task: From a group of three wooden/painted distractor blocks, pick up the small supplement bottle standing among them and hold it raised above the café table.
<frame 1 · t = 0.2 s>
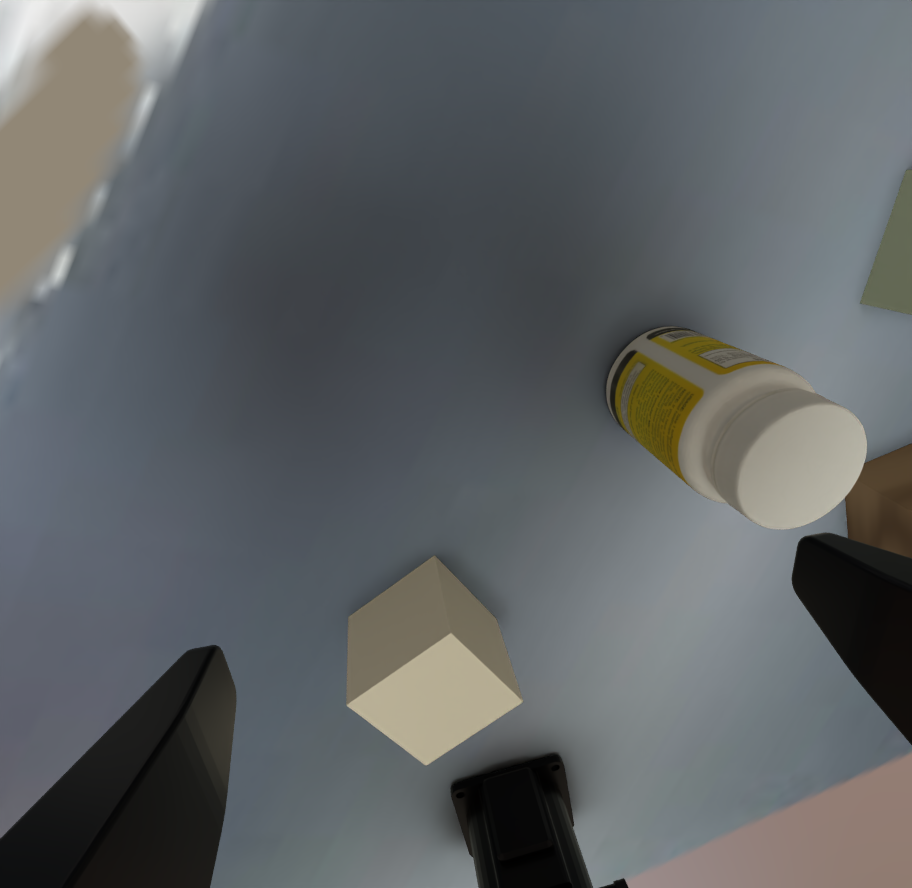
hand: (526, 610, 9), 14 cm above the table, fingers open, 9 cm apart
cream block: (424, 616, 27), on the table
walnut block: (891, 492, 28), on the table
supplement bottle: (655, 379, 23), on the table
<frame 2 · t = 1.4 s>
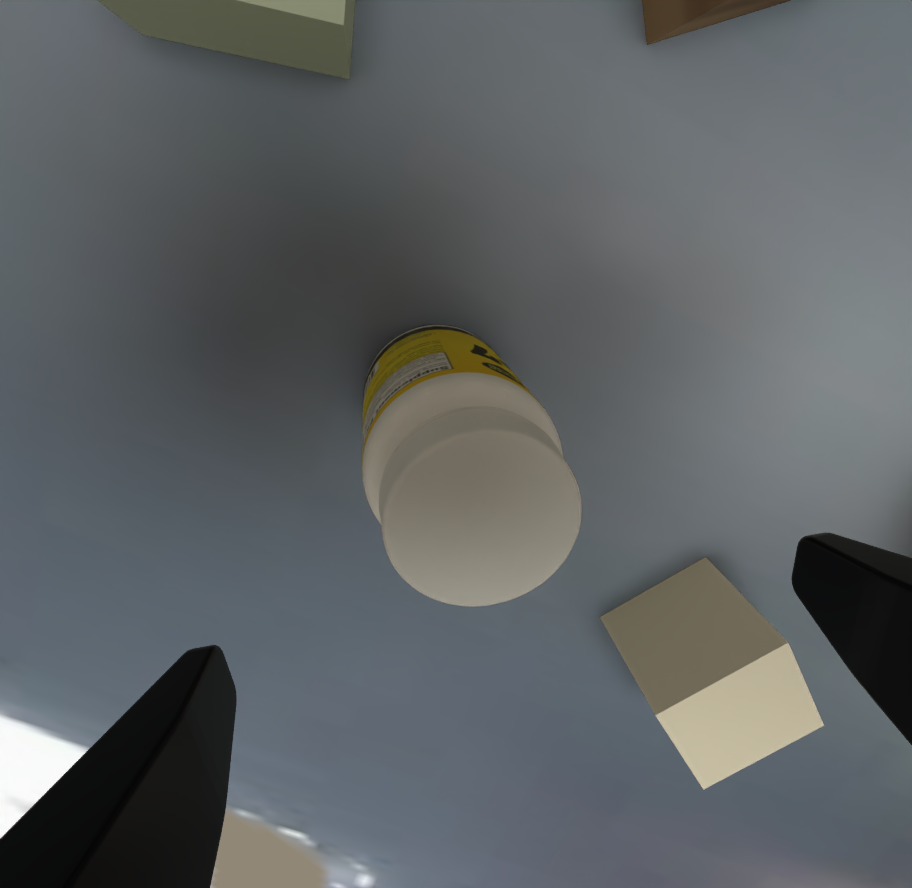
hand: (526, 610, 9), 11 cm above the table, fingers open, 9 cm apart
cream block: (672, 623, 24), on the table
supplement bottle: (434, 391, 19), on the table
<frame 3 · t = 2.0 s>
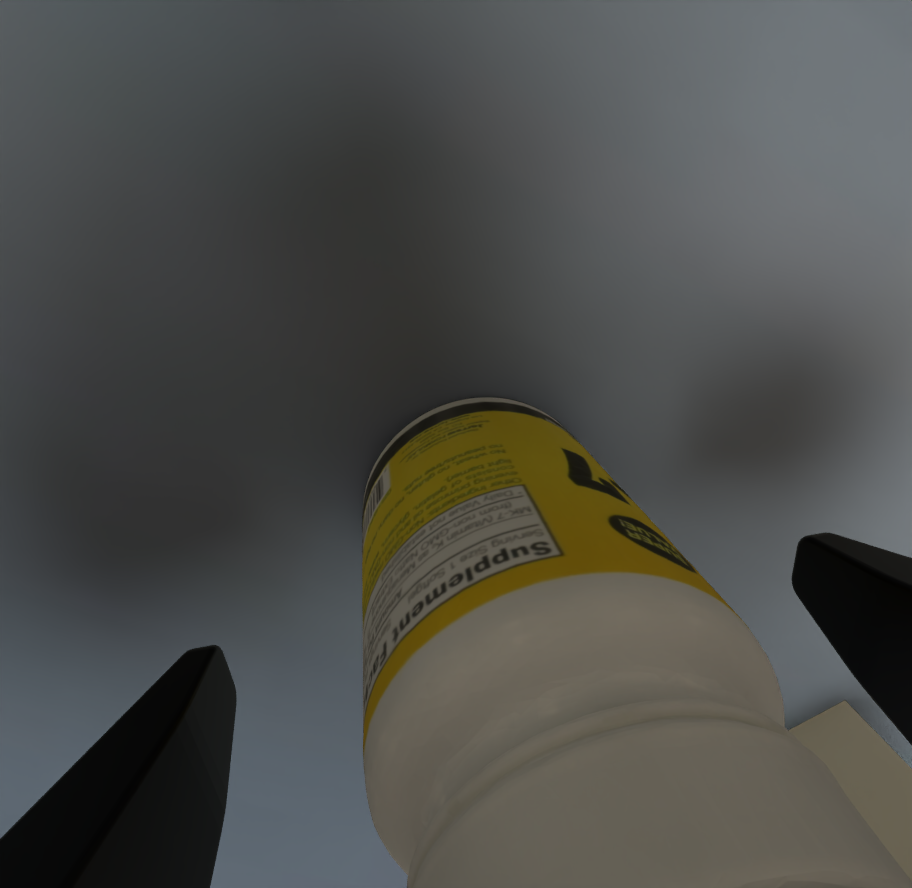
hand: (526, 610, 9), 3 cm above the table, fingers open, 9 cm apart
cream block: (787, 781, 18), on the table
supplement bottle: (475, 494, 12), on the table
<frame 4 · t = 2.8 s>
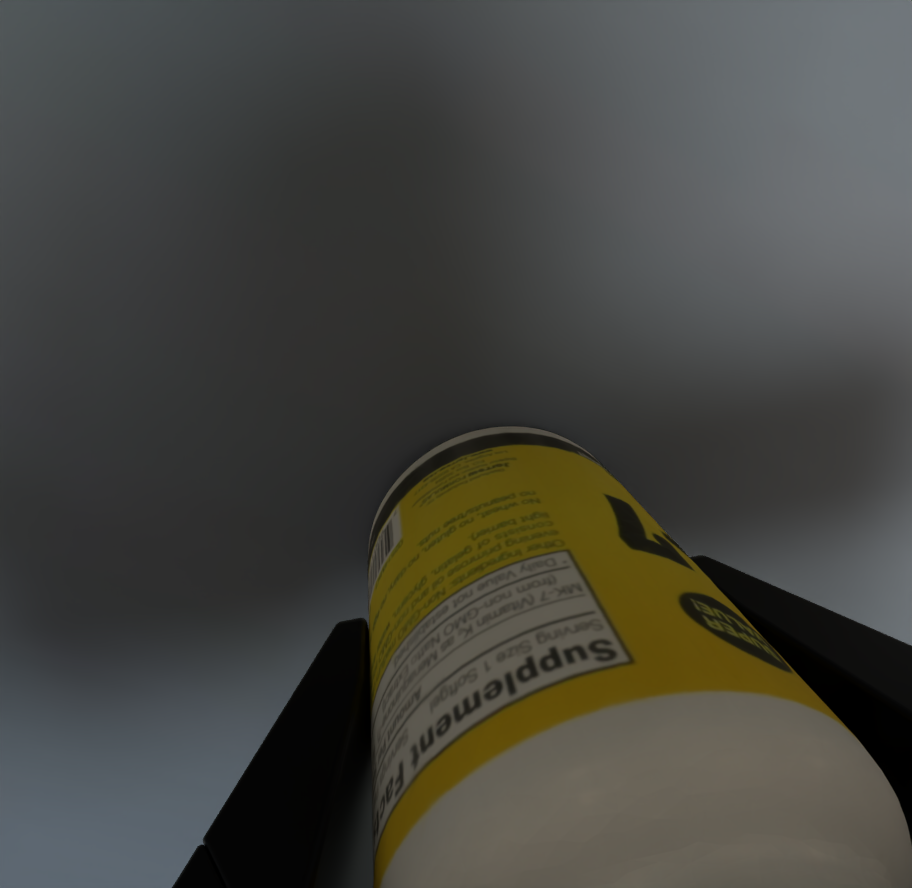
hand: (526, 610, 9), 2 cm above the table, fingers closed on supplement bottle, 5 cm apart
supplement bottle: (494, 532, 11), on the table, touching gripper
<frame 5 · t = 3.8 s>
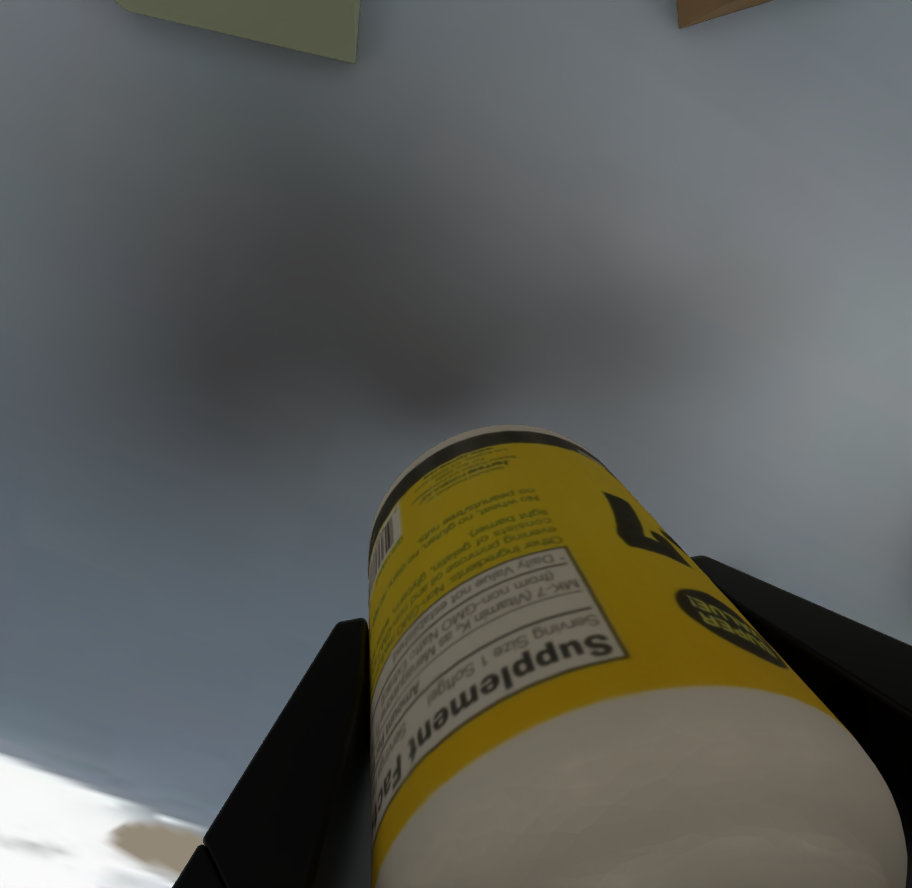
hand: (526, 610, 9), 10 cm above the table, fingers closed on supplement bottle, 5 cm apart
supplement bottle: (494, 530, 11), point 7 cm above the table, touching gripper
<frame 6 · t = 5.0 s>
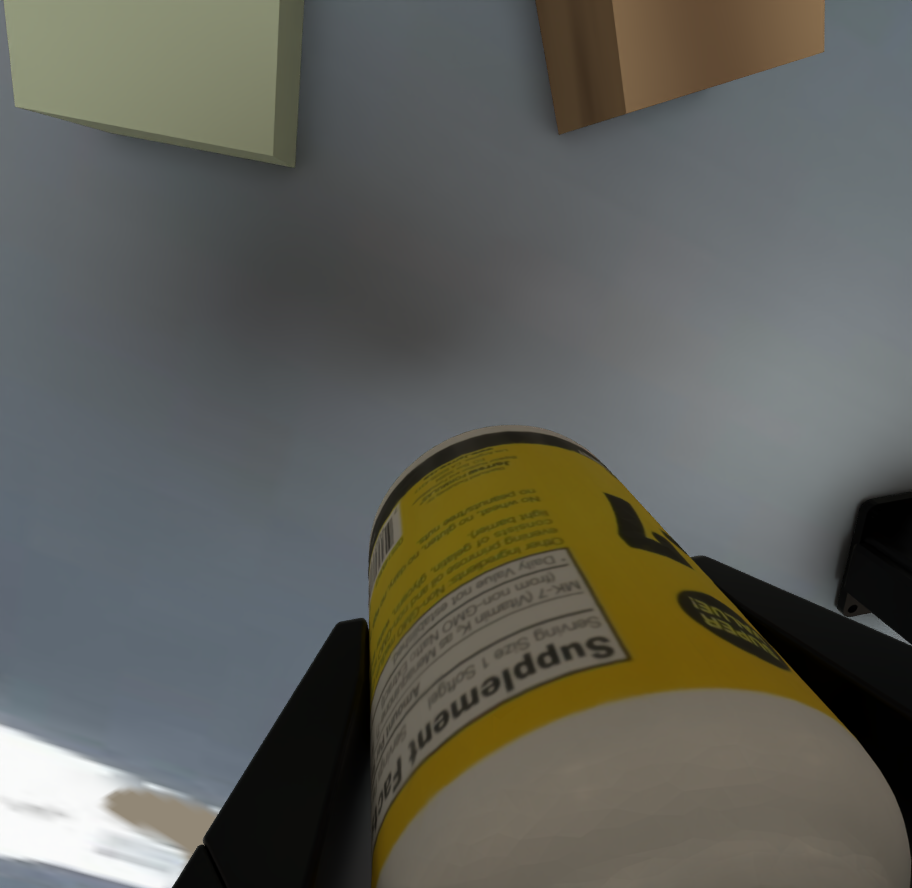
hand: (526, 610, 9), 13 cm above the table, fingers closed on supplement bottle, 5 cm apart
sage block: (207, 50, 15), on the table
walnut block: (621, 18, 17), on the table
supplement bottle: (494, 530, 11), point 10 cm above the table, touching gripper
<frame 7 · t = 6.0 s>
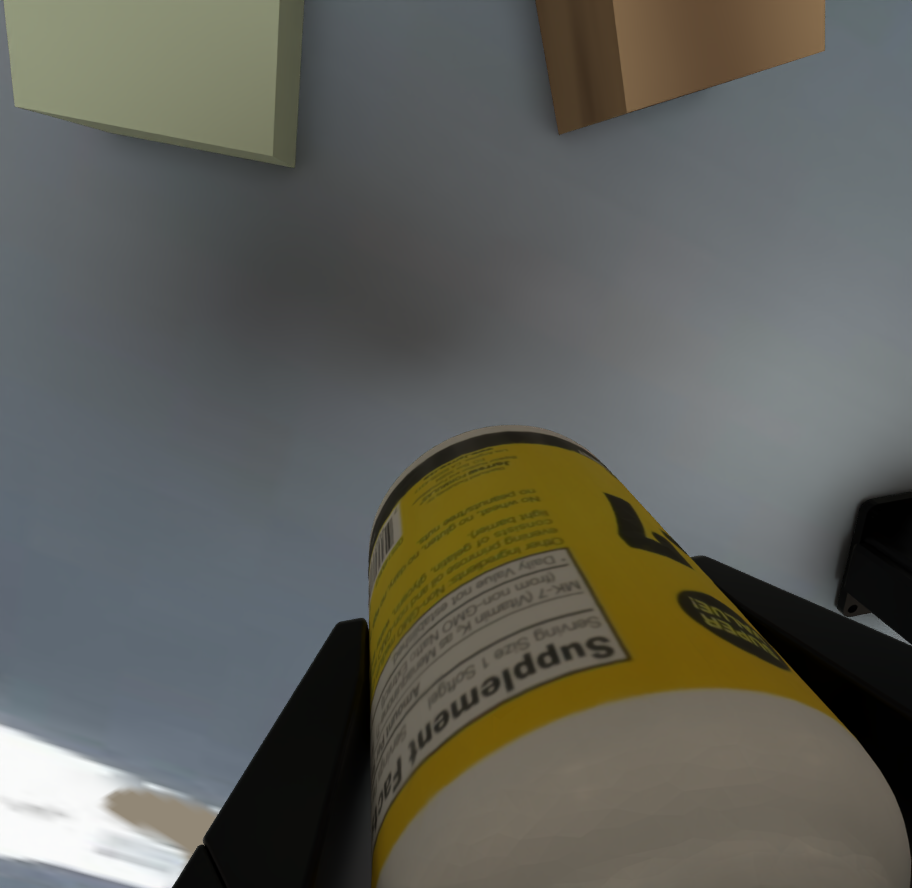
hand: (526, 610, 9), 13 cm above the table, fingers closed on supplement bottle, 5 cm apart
sage block: (207, 51, 15), on the table
walnut block: (620, 18, 17), on the table
supplement bottle: (494, 530, 11), point 10 cm above the table, touching gripper
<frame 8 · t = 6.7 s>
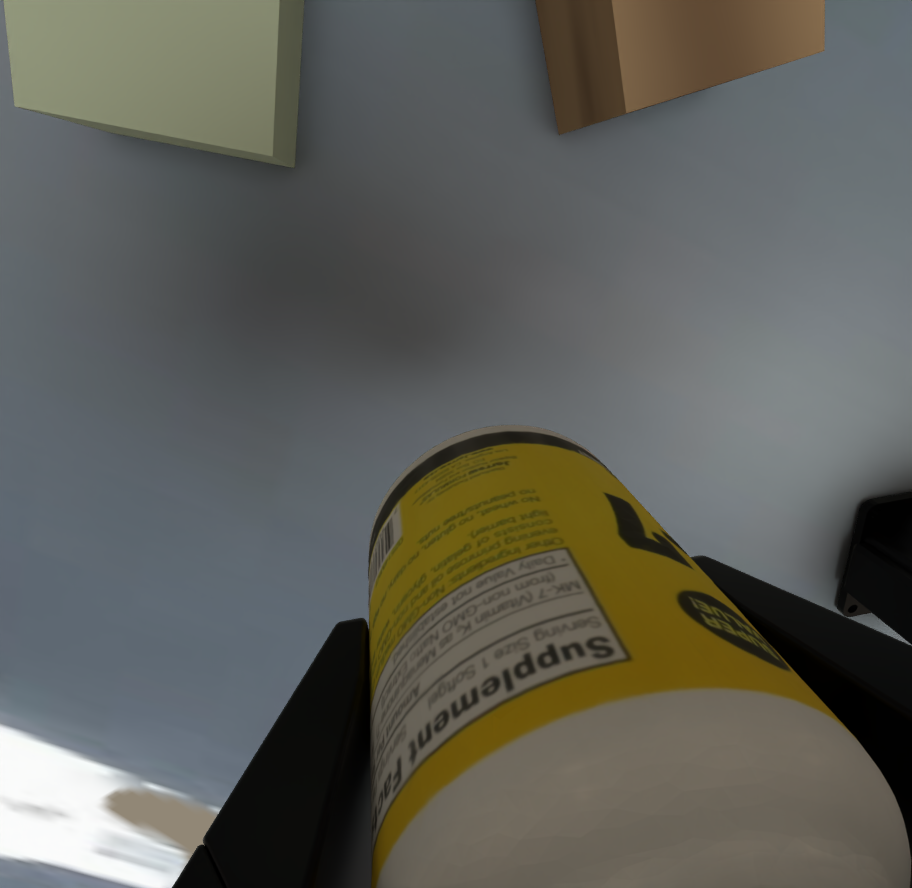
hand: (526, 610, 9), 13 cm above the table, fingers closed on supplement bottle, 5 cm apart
sage block: (207, 51, 15), on the table
walnut block: (620, 18, 17), on the table
supplement bottle: (494, 530, 11), point 10 cm above the table, touching gripper
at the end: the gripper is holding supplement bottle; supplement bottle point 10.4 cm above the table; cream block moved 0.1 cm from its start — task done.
